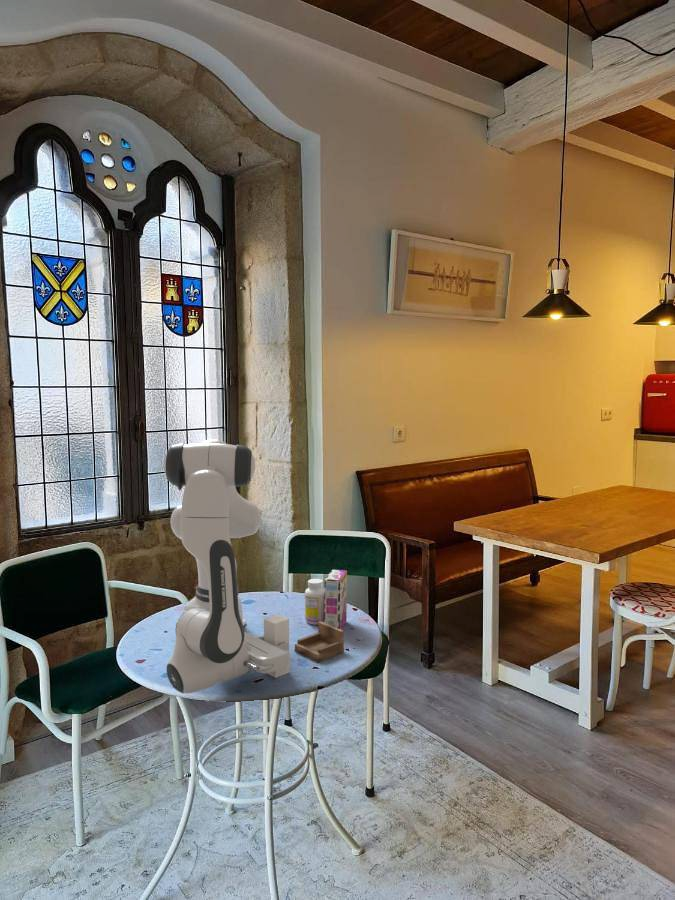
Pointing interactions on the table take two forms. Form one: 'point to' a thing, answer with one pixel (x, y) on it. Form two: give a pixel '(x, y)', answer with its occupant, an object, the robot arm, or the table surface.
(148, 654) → the table surface
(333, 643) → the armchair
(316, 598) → the supplement bottle
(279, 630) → the cream block
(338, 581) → the candy bar box
